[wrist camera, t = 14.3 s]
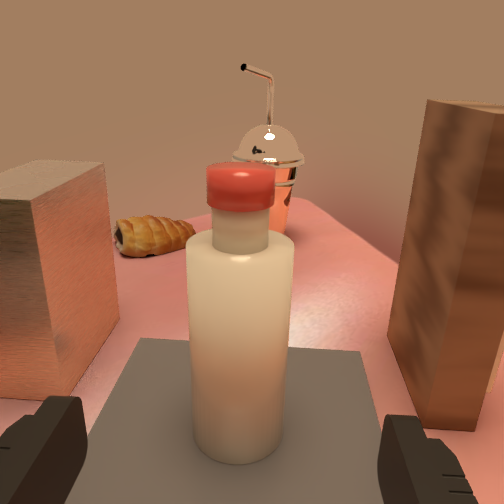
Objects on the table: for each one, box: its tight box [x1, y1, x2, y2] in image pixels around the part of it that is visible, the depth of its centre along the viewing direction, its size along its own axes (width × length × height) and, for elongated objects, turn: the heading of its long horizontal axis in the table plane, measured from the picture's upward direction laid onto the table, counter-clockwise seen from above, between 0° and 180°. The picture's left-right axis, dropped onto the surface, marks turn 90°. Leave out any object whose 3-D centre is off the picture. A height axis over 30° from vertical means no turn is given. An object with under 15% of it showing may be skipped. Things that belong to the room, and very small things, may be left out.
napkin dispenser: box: [0, 160, 120, 401], centre depth 30 cm, size 10×5×13 cm, turn 176°
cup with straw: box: [232, 64, 305, 234], centre depth 51 cm, size 8×9×20 cm
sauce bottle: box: [186, 162, 294, 465], centre depth 22 cm, size 5×5×14 cm
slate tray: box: [64, 338, 384, 504], centre depth 25 cm, size 16×16×1 cm
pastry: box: [114, 215, 196, 257], centre depth 51 cm, size 9×7×4 cm
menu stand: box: [387, 100, 504, 431], centre depth 27 cm, size 10×4×18 cm, turn 176°
